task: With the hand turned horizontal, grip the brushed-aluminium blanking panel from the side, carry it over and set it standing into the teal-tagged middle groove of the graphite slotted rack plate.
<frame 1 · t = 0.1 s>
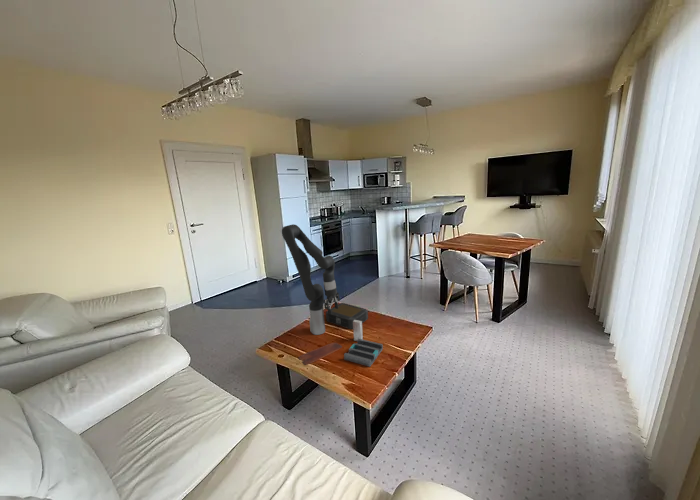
hand: (333, 311, 184), 17 cm above the table, tool pointing down, fingers open, 8 cm apart
rack: (364, 354, 165), on the table
wooden tablet: (321, 353, 170), on the table
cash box: (347, 320, 208), on the table
blanking panel: (358, 340, 181), on the table
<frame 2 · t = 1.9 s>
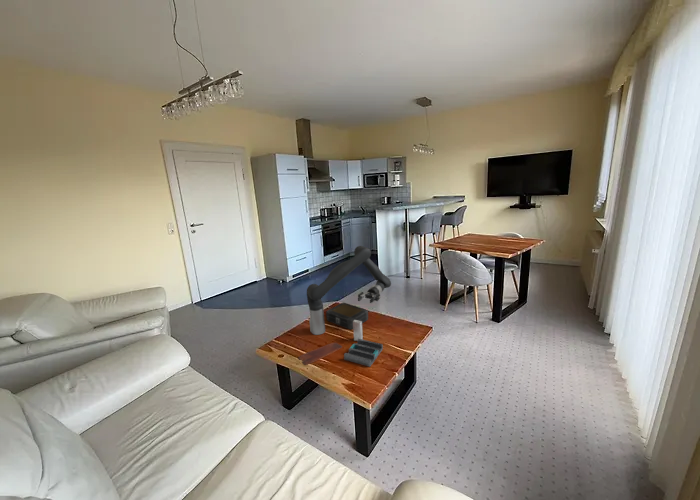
hand: (364, 300, 185), 22 cm above the table, tool horizontal, fingers open, 8 cm apart
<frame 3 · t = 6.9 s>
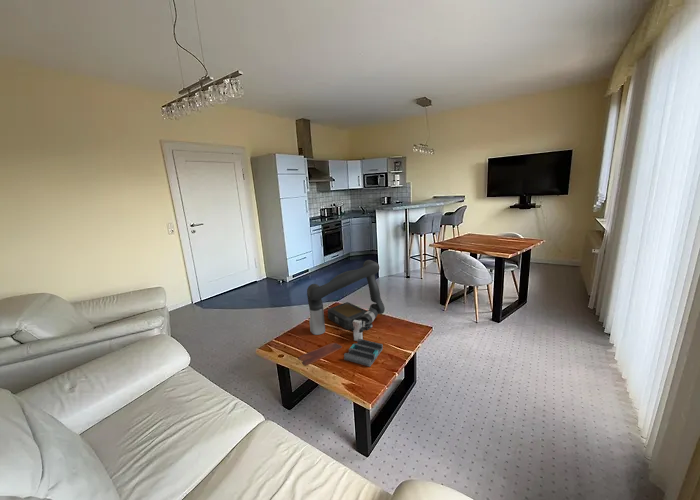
hand: (355, 330, 177), 8 cm above the table, tool horizontal, fingers closed on blanking panel, 5 cm apart
blanking panel: (358, 340, 181), on the table, touching gripper
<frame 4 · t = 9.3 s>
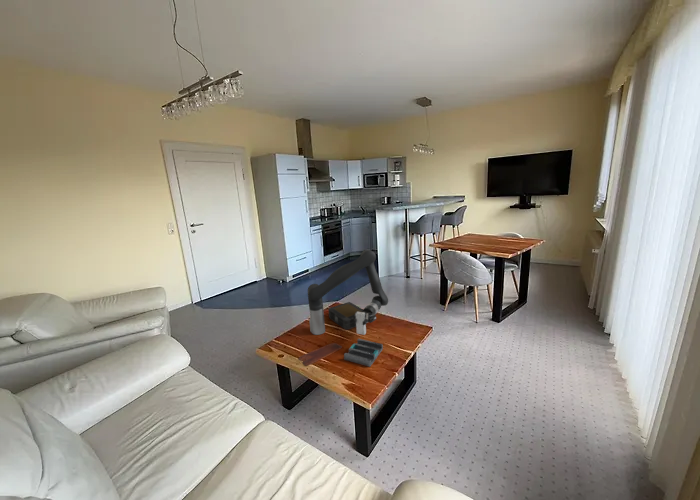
hand: (358, 322, 165), 18 cm above the table, tool horizontal, fingers closed on blanking panel, 5 cm apart
blanking panel: (361, 333, 170), point 10 cm above the table, touching gripper
when the fingers open (10 cm above the table, at t = 12.1 s): blanking panel stays where it is, resting on rack.
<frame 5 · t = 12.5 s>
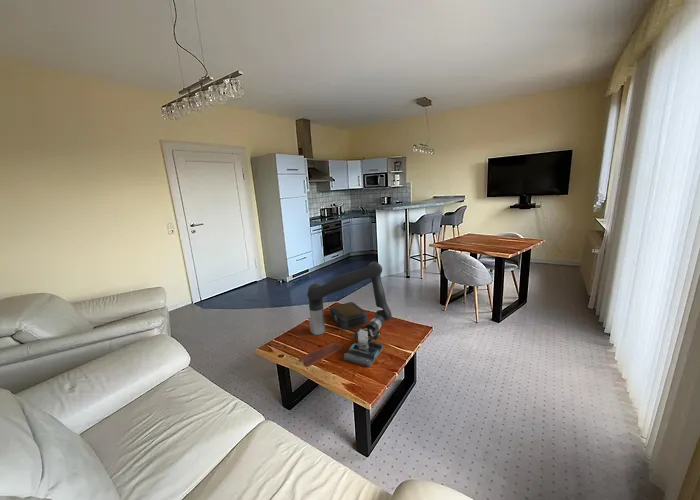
hand: (361, 339, 161), 10 cm above the table, tool horizontal, fingers open, 8 cm apart
blanking panel: (363, 352, 165), point 1 cm above the table, touching rack
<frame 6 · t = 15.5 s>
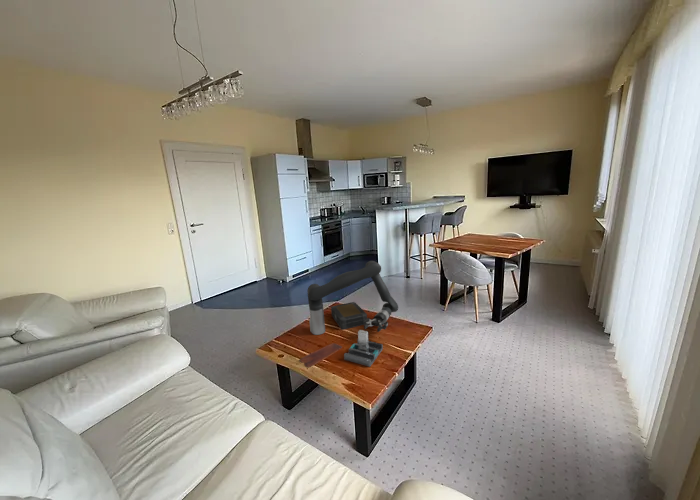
hand: (371, 329, 172), 11 cm above the table, tool horizontal, fingers open, 8 cm apart
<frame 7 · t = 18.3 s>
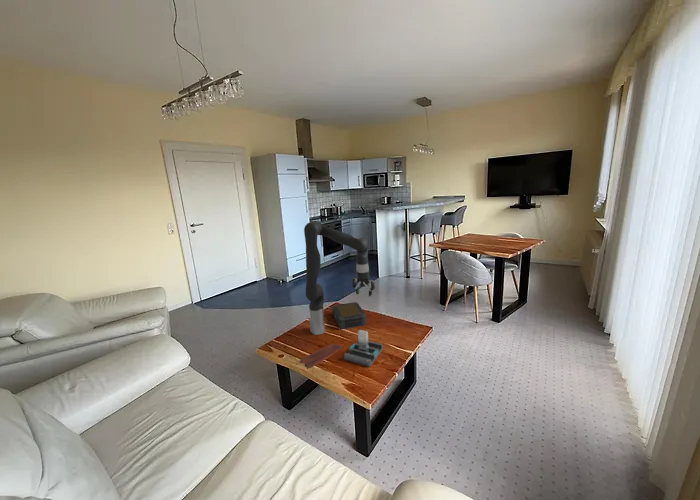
hand: (363, 295, 179), 28 cm above the table, tool pointing down, fingers open, 8 cm apart
at the end: blanking panel 0.1 cm off-centre on the rack, point 1.5 cm above the rack's base; blanking panel tilted 0°; the gripper is holding nothing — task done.
